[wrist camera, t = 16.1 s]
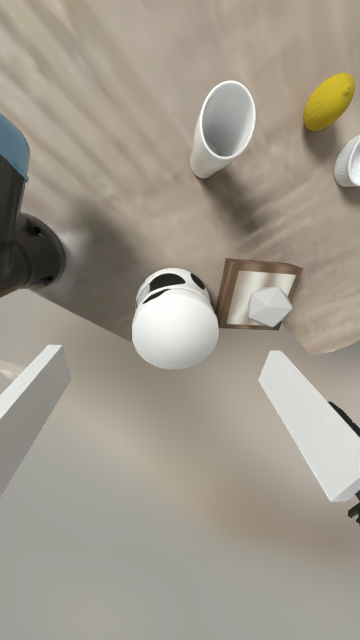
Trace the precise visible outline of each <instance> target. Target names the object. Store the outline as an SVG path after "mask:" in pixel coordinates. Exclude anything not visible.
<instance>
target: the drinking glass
mask: <svg viewBox="0 0 360 640" xmlns="http://www.w3.org/2000/svg"><path fill="white" fill-rule="evenodd" d="M255 122H256V111H255V105H254V101H253V98H252V96H251V94H250V92H249V91H248V89H247V88H246V87H245V86H244V85H242V84H241V83H239V82H236V81H225V82H222V83H220V84H219V85H217V86H216V87H215V88H214V89H213V90H212V91H211V92H210V93H209V95H208V96H207V98H206V100H205V102H204V104H203V107H202V109H201V112H200V114H199V117H198V120H197V124H196V128H195V133H194V141H193V148H192V153H191V157H190V164H191V168H192V171H193V172H194V174H195V175H196V176H198V177H199V178H208V177H210V176H211V175H213V174H214V173H216V172H217V171H219V170H221V169H223V168H225V167H226V166H228V165H229V164H231V163H232V162H233V161H234V160H235V159H236V158H237V157H238V156H239V155H240V154H241V153H242V152H243V151H244V150H245V148H246V147H247V146H248V144H249V142H250V140H251V138H252V135H253V132H254V128H255Z"/></svg>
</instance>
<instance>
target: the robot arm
mask: <svg viewBox="0 0 360 640" xmlns="http://www.w3.org/2000/svg"><path fill="white" fill-rule="evenodd" d="M29 157H30V149H29V145H28V143H27V140H26V139H25V137H24V135H23V134H22V133H21V132H20V130H19V129H18V128H17V127H16V126H15V125H14V124H12V123H11V122H10V121H9V120H8V119H7V118H6V117H4V116H3V115H2V114H1V113H0V298H1V297H3V296H5V295H7V294H9V293H11V292H14V291H16V290H18V289H34V288H42V287H45V286H48V285H50V284H52V283H54V282H55V281H57V280H58V279H59V278H60V277H61V275H62V274H63V272H64V269H65V254H64V250H63V247H62V245H61V243H60V241H59V240H58V238H57V237H56V235H55V234H54V233H53V231H52V230H51V229H50V228H49V227H48V226H47V225H45V224H44V223H43V222H41V221H40V220H38V219H37V218H35V217H33V216H31V215H29V214H26V213H22V212H20V210H21V205H22V200H23V194H24V189H25V184H26V182H28V180H29V178H28V176H27V172H28V164H29ZM70 380H71V376H70V372H69V368H68V365H67V361H66V357H65V353H64V349H63V346H62V345H48V346H47V347H46V348H45V349H44V350H43V351H42V352H41V353H40V354H39V355H38V356H37V357H36V359H34V361H33V362H32V363H31V364H30V365H29V366H28V367H27V368H26V369H25V370H24V371H23V372H22V373H21V374H20V375H19V376H18V377H17V378H16V379H15V380H14V381H13V382H12V384H11V385H10V386H9V387H8V388H7V389H6V390H5V391H4V392H3V393H2V394H1V395H0V497H1V495H2V494H3V492H4V490H5V489H6V487H7V485H8V484H9V482H10V480H11V479H12V477H13V475H14V474H15V472H16V470H17V469H18V467H19V465H20V464H21V462H22V460H23V459H24V457H25V455H26V454H27V452H28V450H29V449H30V447H31V445H32V444H33V442H34V440H35V439H36V437H37V435H38V434H39V432H40V430H41V429H42V427H43V425H44V424H45V422H46V420H47V419H48V417H49V415H50V414H51V412H52V410H53V409H54V407H55V405H56V404H57V402H58V400H59V399H60V397H61V395H62V394H63V392H64V390H65V388H66V387H67V385H68V384H69V382H70ZM258 381H259V382H260V384H261V386H262V387H263V389H264V391H265V392H266V394H267V396H268V397H269V399H270V400H271V402H272V404H273V406H274V407H275V409H276V411H277V413H278V414H279V416H280V418H281V419H282V421H283V422H284V424H285V426H286V428H287V429H288V431H289V433H290V434H291V436H292V438H293V440H294V441H295V443H296V444H297V446H298V448H299V450H300V451H301V453H302V455H303V456H304V458H305V460H306V461H307V463H308V465H309V466H310V468H311V470H312V471H313V473H314V475H315V477H316V478H317V480H318V482H319V483H320V485H321V486H322V488H323V490H324V491H325V493H326V495H327V497H328V498H329V500H330V502H335V501H347V500H348V499H350V498H351V497H352V496H354V495H356V496H357V498H358V499H359V501H360V428H359V427H358V426H357V425H356V424H355V423H353V422H352V420H351V419H350V418H349V417H348V416H347V415H346V413H344V411H343V410H341V409H340V408H339V407H337V406H336V405H335V404H333V403H332V402H327V401H326V400H325V399H324V398H323V397H322V396H321V394H320V393H319V392H318V391H317V390H316V389H315V388H314V387H313V386H312V385H311V383H310V382H309V381H308V380H307V379H306V378H305V377H304V376H303V375H302V374H301V372H300V371H299V370H298V369H297V368H296V367H295V366H294V365H293V364H292V363H291V361H290V360H289V359H288V358H287V357H286V356H285V355H284V354H283V353H282V351H270V353H269V355H268V358H267V360H266V363H265V365H264V368H263V370H262V372H261V375H260V377H259V380H258ZM356 514H358V516H359V518H357V520H356V522H358V523H359V524H360V502H359V503H358V504H357V505H355V506H354V507H353V508H351V509H350V510H349V511H348V516H349V517H350V518H352V517H353V516H355V515H356Z"/></svg>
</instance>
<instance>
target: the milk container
mask: <svg viewBox="0 0 360 640" xmlns="http://www.w3.org/2000/svg"><path fill="white" fill-rule="evenodd" d="M218 337H219V329H218V320H217V317H216V314H215V312H214V311H213V308H212V306H211V304H210V298H209V294H208V291H207V289H206V287H205V285H204V284H203V283H202V281H201V280H200V279H199V278H198V277H197V276H195V275H194V274H192V273H191V272H189V271H186V270H183V269H179V268H167V269H162V270H159V271H157V272H155V273H153V274H152V275H150V276H149V277H148V278H147V279H146V280H145V281H144V282H143V284H142V285H141V287H140V289H139V291H138V293H137V297H136V312H135V316H134V319H133V324H132V341H133V343H134V346H135V348H136V350H137V352H138V354H139V355H140V356H141V357H142V358H143V359H144V360H145V361H146V362H148V363H150V364H152V365H154V366H156V367H158V368H163V369H168V370H177V369H186V368H189V367H192V366H194V365H197V364H199V363H200V362H202V361H203V360H204V359H206V358H207V357H208V356H209V355H210V354H211V352H212V351H213V350H214V348H215V347H216V344H217V340H218Z"/></svg>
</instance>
